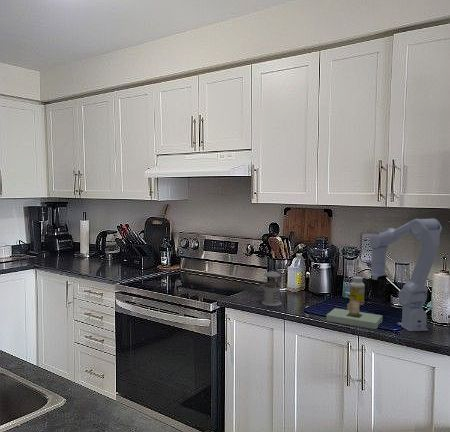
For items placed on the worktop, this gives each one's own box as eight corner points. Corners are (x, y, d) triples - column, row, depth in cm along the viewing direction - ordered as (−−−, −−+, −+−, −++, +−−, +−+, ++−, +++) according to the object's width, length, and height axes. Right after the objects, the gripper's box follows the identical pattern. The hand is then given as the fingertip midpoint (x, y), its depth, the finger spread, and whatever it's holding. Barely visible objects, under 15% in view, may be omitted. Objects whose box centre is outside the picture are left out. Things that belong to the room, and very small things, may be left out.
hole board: (382, 321, 178) (382, 315, 178) (375, 329, 168) (376, 323, 168) (334, 313, 189) (335, 308, 189) (326, 320, 178) (326, 314, 178)
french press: (258, 304, 204) (259, 251, 202) (267, 298, 214) (268, 248, 212) (277, 306, 199) (278, 253, 197) (286, 301, 209) (287, 250, 208)
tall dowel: (360, 322, 177) (361, 303, 176) (351, 322, 176) (351, 303, 176) (356, 319, 181) (356, 300, 180) (347, 319, 180) (347, 301, 180)
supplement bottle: (346, 302, 207) (347, 276, 207) (358, 301, 210) (358, 275, 209) (355, 306, 201) (356, 279, 200) (367, 305, 203) (367, 278, 203)
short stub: (357, 314, 188) (358, 305, 188) (349, 314, 188) (349, 305, 187) (354, 311, 192) (354, 303, 192) (345, 312, 192) (345, 303, 191)
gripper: (372, 259, 196) (371, 288, 196) (365, 263, 183) (364, 295, 184) (389, 260, 192) (388, 290, 193) (382, 265, 179) (381, 297, 180)
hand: (377, 293), depth 188 cm, fingers open, 7 cm apart
